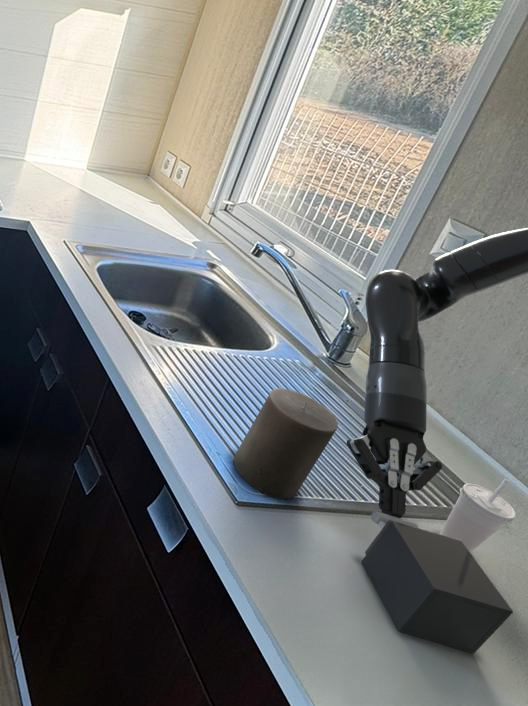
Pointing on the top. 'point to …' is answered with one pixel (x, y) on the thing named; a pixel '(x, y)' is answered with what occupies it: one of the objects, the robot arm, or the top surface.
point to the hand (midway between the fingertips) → (392, 516)
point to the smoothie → (477, 515)
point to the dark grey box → (434, 588)
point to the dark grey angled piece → (385, 521)
